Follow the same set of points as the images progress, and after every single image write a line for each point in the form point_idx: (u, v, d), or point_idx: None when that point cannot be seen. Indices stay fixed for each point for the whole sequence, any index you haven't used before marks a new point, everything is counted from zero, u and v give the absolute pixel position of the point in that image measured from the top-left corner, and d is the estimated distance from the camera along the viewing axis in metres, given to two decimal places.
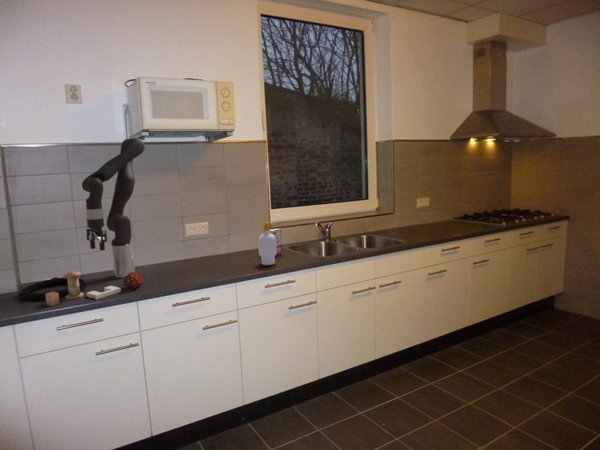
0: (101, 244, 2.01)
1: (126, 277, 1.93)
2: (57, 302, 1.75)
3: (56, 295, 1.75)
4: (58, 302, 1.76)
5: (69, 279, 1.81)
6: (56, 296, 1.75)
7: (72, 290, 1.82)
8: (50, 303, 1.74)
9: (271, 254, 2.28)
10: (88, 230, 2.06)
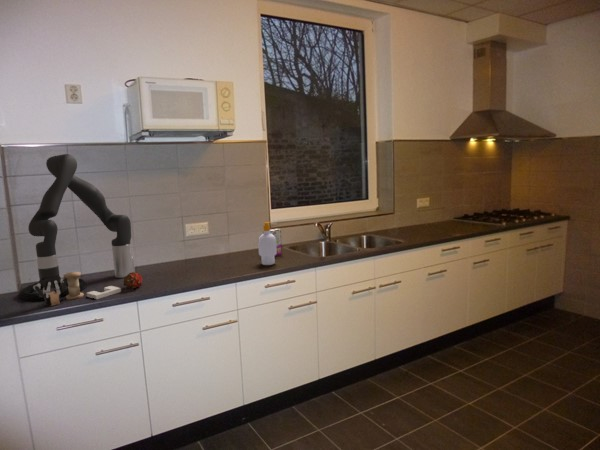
0: (59, 295, 1.77)
1: (126, 277, 1.93)
2: (57, 302, 1.75)
3: (56, 295, 1.75)
4: (58, 302, 1.76)
5: (69, 279, 1.81)
6: (56, 296, 1.75)
7: (72, 290, 1.82)
8: (50, 303, 1.74)
9: (271, 254, 2.28)
10: (38, 286, 1.69)
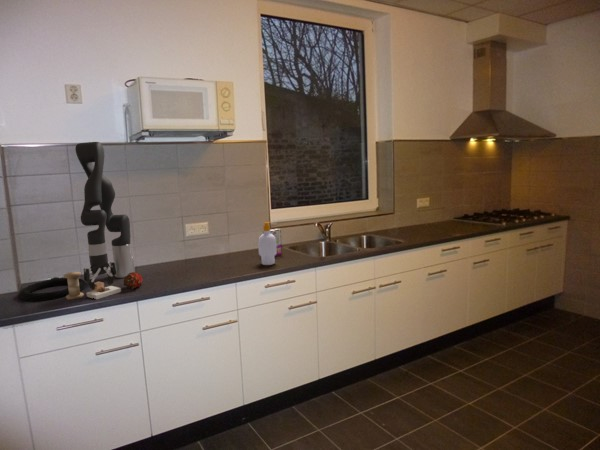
0: (112, 277, 1.91)
1: (126, 277, 1.93)
2: (103, 291, 1.89)
3: (102, 284, 1.88)
4: (103, 291, 1.89)
5: (69, 279, 1.81)
6: (102, 285, 1.88)
7: (72, 290, 1.82)
8: None
9: (271, 254, 2.28)
10: (88, 270, 1.81)
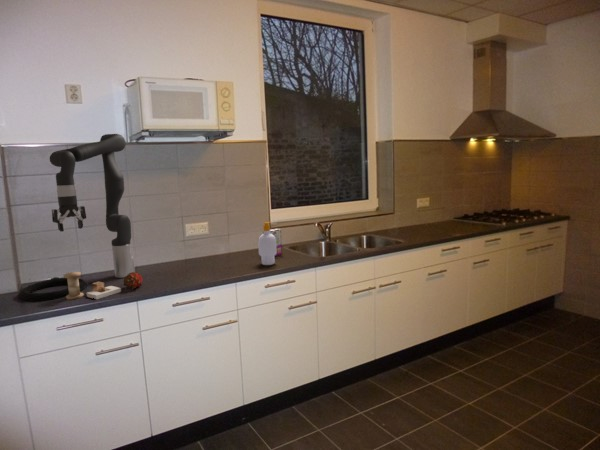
0: (81, 221, 1.91)
1: (126, 277, 1.93)
2: (103, 291, 1.89)
3: (102, 284, 1.88)
4: (103, 291, 1.89)
5: (69, 279, 1.81)
6: (102, 285, 1.88)
7: (72, 290, 1.82)
8: None
9: (271, 254, 2.28)
10: (56, 211, 1.81)
